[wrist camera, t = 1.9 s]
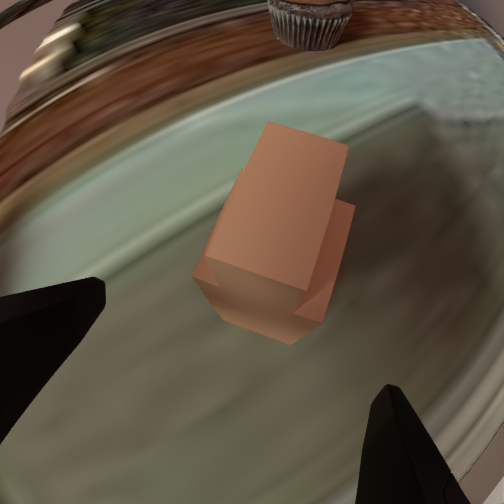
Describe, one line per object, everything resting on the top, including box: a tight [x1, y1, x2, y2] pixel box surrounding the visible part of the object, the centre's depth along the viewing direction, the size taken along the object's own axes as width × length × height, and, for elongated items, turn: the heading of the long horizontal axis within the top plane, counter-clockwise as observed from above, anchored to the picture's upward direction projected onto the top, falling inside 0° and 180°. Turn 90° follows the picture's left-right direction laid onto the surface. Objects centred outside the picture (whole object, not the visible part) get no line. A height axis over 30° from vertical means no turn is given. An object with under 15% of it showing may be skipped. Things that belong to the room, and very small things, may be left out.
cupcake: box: [267, 0, 353, 51], centre depth 26 cm, size 10×10×10 cm
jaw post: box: [192, 122, 355, 345], centre depth 14 cm, size 4×4×13 cm
